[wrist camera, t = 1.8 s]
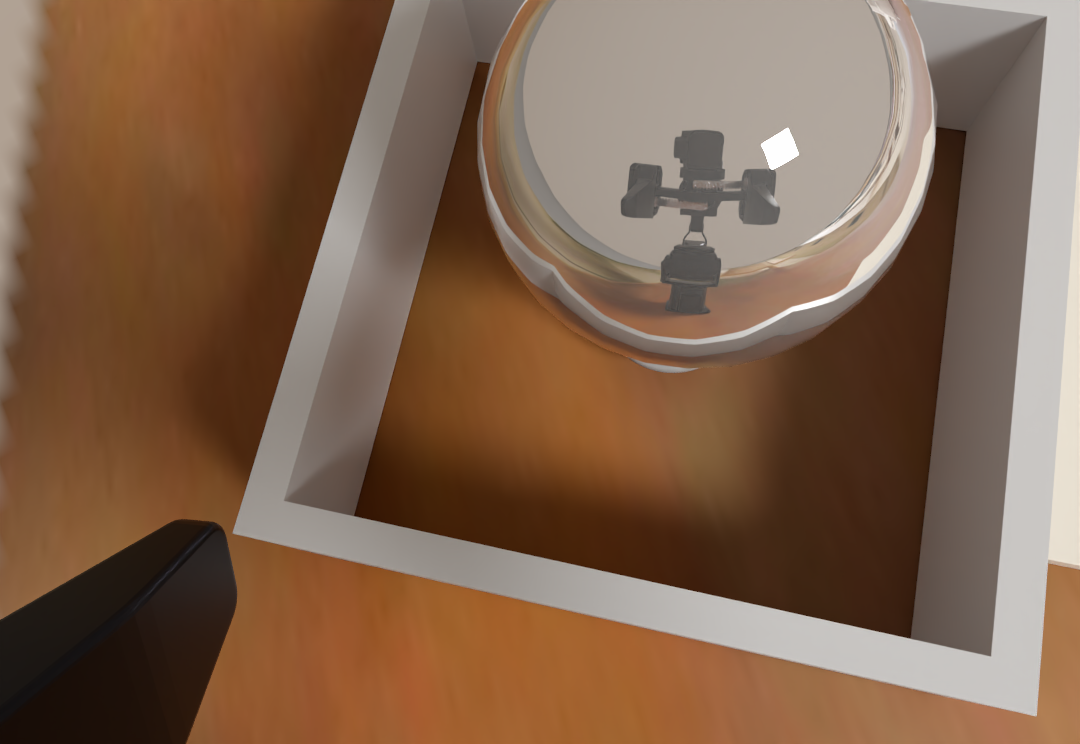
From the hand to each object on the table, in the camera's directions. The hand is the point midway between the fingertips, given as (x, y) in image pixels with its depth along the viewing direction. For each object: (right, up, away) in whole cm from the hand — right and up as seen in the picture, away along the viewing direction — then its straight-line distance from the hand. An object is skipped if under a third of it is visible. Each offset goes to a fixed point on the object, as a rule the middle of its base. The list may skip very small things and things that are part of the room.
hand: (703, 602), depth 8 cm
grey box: (+2, +3, +14) cm, 15 cm away
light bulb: (+2, +3, +14) cm, 15 cm away
